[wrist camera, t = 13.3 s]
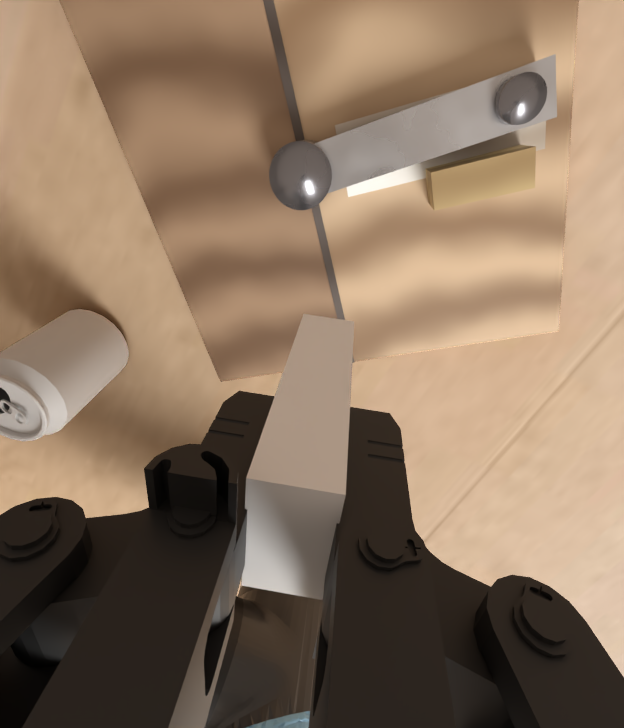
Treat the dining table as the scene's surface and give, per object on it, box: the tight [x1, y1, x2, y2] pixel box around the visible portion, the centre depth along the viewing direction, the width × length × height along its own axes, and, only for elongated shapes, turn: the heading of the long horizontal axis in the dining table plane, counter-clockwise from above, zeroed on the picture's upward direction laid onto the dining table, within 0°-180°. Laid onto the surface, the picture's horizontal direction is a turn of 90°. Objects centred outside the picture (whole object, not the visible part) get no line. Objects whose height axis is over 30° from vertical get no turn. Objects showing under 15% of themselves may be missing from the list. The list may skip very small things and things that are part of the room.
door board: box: [60, 0, 579, 382], centre depth 27 cm, size 32×30×5 cm
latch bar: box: [269, 54, 557, 210], centre depth 25 cm, size 17×4×4 cm, turn 108°
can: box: [0, 309, 129, 441], centre depth 35 cm, size 8×8×12 cm
